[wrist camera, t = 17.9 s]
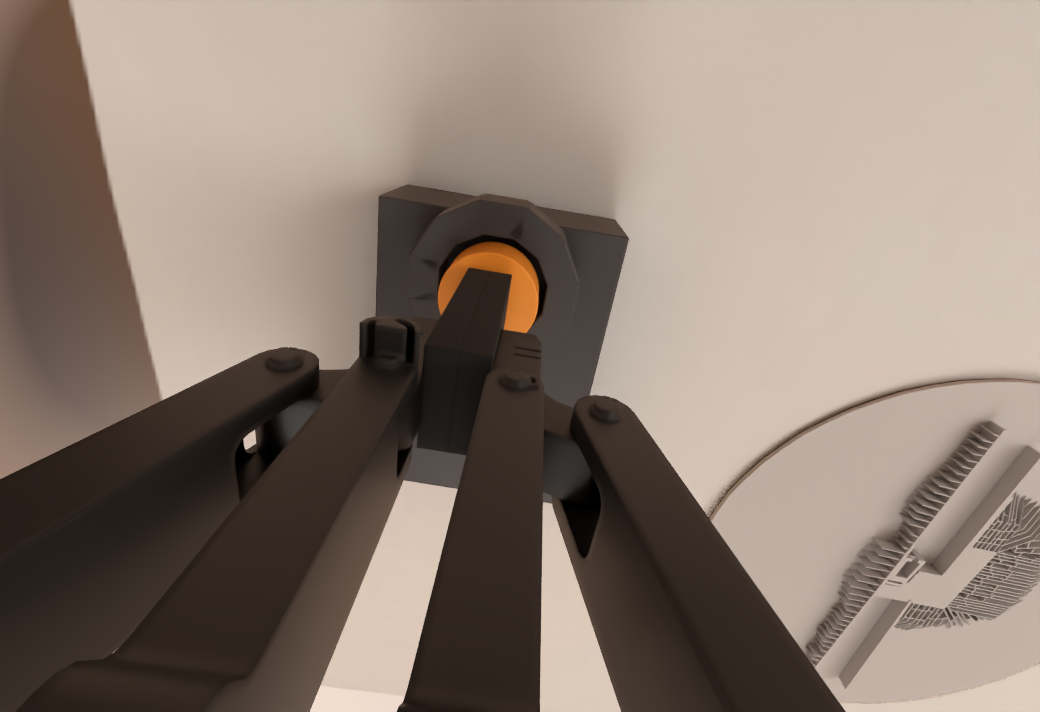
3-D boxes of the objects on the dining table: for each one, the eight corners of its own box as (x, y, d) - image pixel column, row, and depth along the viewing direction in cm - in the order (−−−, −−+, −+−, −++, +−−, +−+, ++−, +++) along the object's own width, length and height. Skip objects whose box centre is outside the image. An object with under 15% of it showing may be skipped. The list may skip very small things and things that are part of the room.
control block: (407, 167, 22) (362, 179, 17) (619, 203, 22) (642, 226, 17) (394, 429, 29) (358, 500, 23) (560, 455, 29) (562, 531, 23)
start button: (450, 233, 18) (441, 244, 16) (546, 249, 18) (546, 261, 16) (442, 322, 19) (433, 340, 18) (530, 337, 19) (529, 355, 18)
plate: (816, 323, 24) (829, 332, 23) (1302, 447, 26) (1335, 461, 25) (632, 656, 36) (634, 673, 35) (972, 728, 38) (984, 746, 37)
